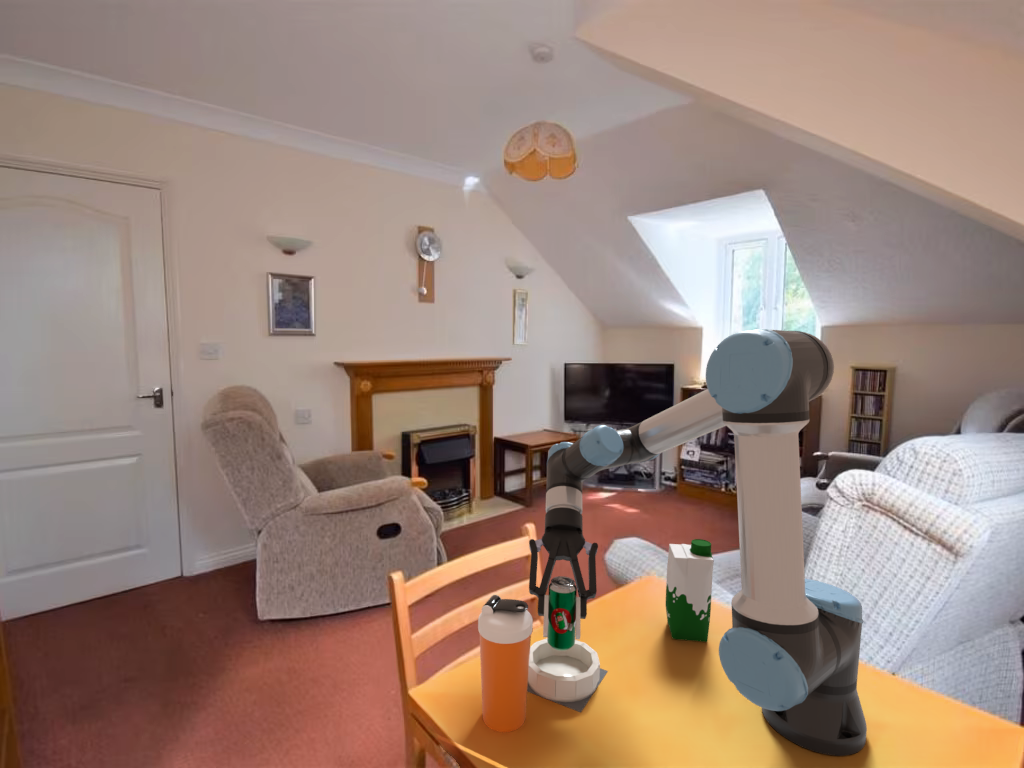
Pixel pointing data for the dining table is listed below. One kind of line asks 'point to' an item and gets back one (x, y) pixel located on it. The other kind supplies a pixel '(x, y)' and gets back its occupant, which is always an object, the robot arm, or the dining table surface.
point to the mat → (577, 704)
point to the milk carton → (689, 590)
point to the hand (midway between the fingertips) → (561, 635)
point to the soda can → (562, 613)
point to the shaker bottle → (504, 662)
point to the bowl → (563, 671)
